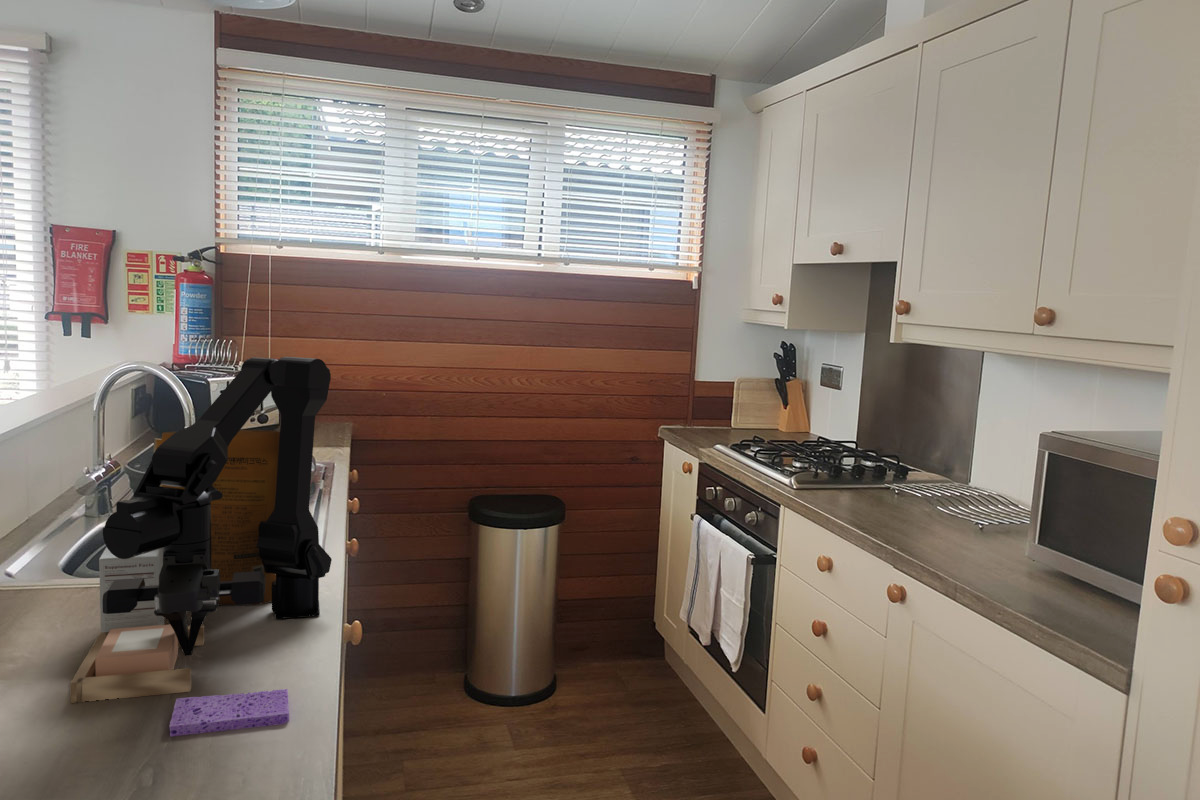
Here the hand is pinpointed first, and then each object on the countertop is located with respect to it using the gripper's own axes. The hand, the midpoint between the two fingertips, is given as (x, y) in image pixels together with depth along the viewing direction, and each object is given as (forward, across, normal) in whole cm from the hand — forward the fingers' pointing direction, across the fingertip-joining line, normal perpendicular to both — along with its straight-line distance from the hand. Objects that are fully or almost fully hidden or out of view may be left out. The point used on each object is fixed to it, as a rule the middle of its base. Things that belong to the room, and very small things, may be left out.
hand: (188, 654), depth 114 cm
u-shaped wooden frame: (+2, -5, 0) cm, 5 cm away
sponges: (+2, +6, -16) cm, 18 cm away
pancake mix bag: (+2, +2, +25) cm, 25 cm away
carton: (+2, -6, 0) cm, 6 cm away
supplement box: (+2, -9, +13) cm, 16 cm away
